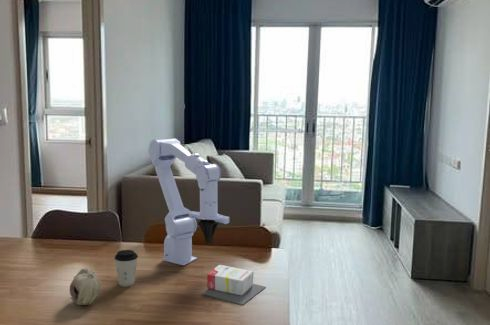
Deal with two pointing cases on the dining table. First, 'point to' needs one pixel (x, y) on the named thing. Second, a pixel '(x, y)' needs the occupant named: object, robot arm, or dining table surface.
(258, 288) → the mat
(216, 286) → the ink box
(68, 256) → the dining table surface
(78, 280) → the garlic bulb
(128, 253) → the coffee cup
